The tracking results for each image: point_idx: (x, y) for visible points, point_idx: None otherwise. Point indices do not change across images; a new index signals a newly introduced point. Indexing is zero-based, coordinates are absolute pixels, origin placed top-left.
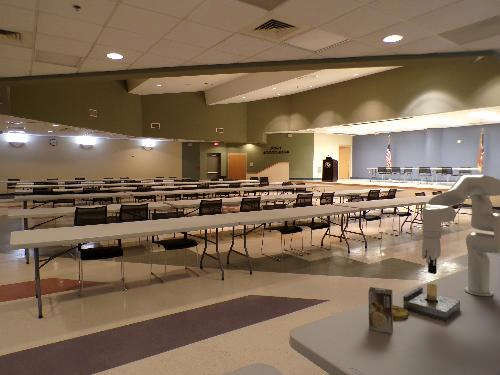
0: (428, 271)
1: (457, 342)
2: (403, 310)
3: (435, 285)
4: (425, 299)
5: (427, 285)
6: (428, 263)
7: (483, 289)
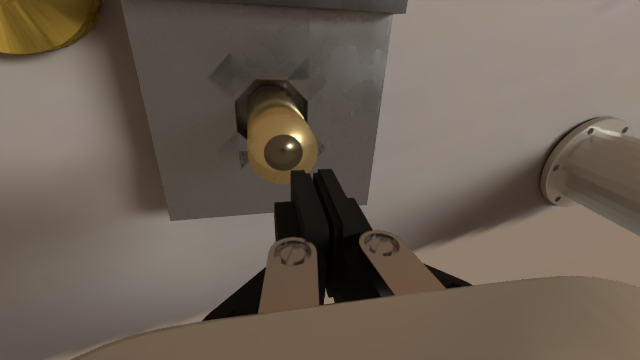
0: (292, 179)
1: (41, 281)
2: (53, 9)
3: (283, 178)
4: (275, 78)
5: (254, 129)
6: (245, 287)
7: (572, 196)
